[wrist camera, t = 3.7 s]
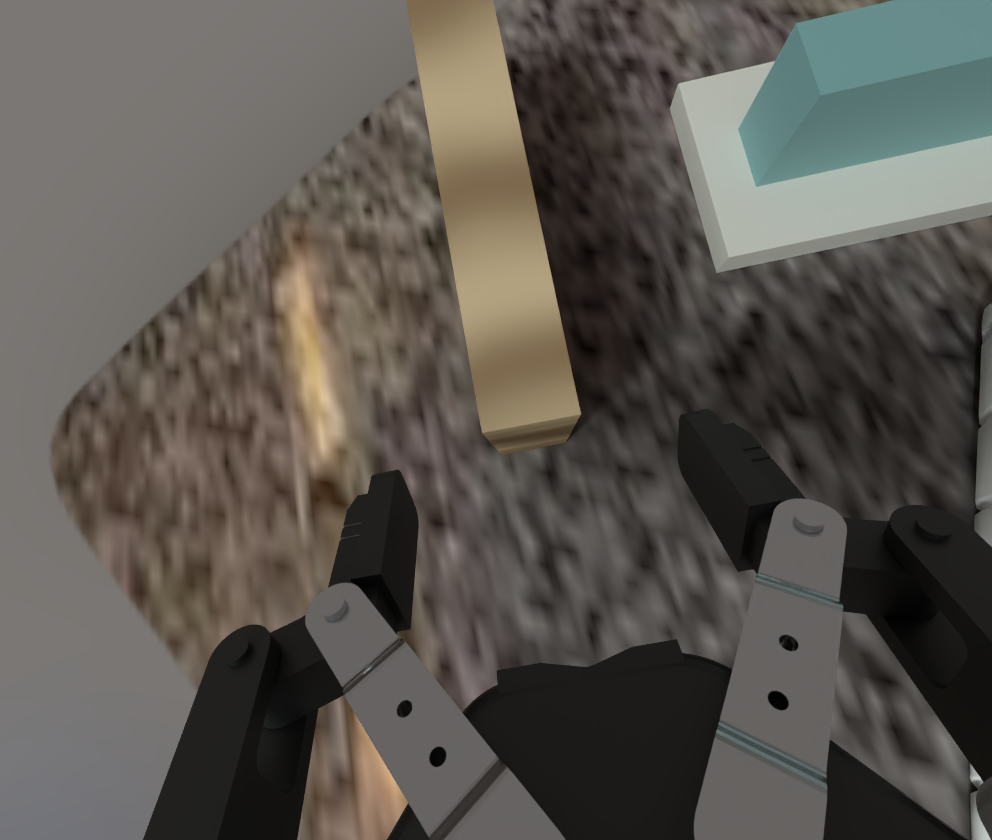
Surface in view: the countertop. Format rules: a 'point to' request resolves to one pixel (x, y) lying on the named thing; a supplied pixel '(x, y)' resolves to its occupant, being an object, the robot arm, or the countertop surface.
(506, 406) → the wooden beam
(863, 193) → the ridge stand
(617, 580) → the countertop surface
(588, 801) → the robot arm
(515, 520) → the countertop surface
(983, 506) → the unicorn horn
